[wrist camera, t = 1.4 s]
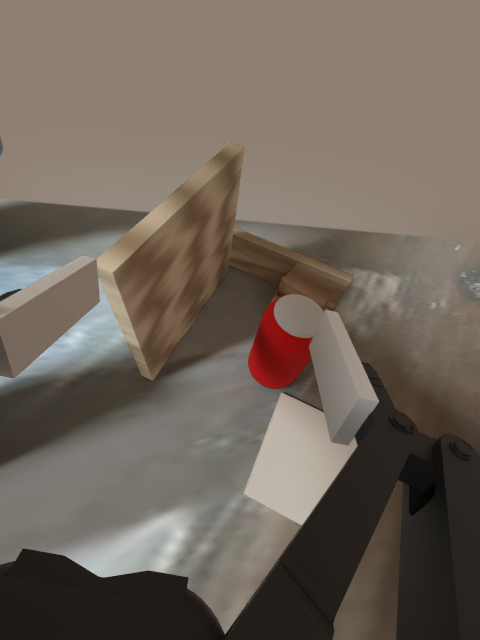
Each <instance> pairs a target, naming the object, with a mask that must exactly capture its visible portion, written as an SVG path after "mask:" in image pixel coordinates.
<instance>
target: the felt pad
mask: <svg viewBox="0 0 480 640" xmlns="http://www.w3.org/2000/svg"><path fill="white" fill-rule="evenodd" d="M356 447H357V443H356V439H355V437H354V439H353V440H352V441H351V443H350V444H349V446H347V445H342V444H337V443H332V442H331V440H330V436H329V432H328V427H327V423H326V419H325V414H324V412H322V411H319V410H317V409H315V408H313V407H311V406H309V405H307V404H305V403H303V402H301V401H299V400H296V399H294V398H292V397H290V396H288V395H286V394H284V393H282V392H281V394H280V396H279V399H278V402H277V404H276V407H275V410H274V412H273V415H272V418H271V420H270V423H269V426H268V428H267V431H266V434H265V436H264V439H263V442H262V445H261V447H260V450H259V453H258V455H257V458H256V461H255V463H254V466H253V469H252V471H251V474H250V477H249V479H248V482H247V485H246V487H245V490H244V493H243V494H244V495H246V496H248V497H250V498H252V499H253V500H255V501H257V502H259V503H261V504H263V505H265V506H266V507H268V508H270V509H272V510H274V511H276V512H277V513H279V514H281V515H283V516H285V517H287V518H289V519H290V520H292V521H294V522H296V523H298V524H300V525H301V526H302V525H303V523H304V522H305V520H306V519H307V517H308V516H309V515H310V513H311V512H312V510H313V509H314V507H315V506H316V505H317V503H318V502H319V500H320V499H321V497H322V496H323V495H324V493H325V492H326V490H327V489H328V487H329V486H330V485H331V483H332V482H333V480H334V479H335V477H336V476H337V475H338V473H339V472H340V470H341V469H342V467H343V466H344V464H345V463H346V462H347V460H348V458H349V457H350V456H351V454H352V453H353V452H354V450H355V449H356Z"/></svg>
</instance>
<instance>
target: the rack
mask: <svg viewBox="0 0 480 640" xmlns="http://www.w3.org/2000/svg"><path fill="white" fill-rule="evenodd" d="M243 155H244V146H241V145H238V144H236V143H233V142H230V143H229V144H228V145H227V146H226V147H225V148H224V149H222V150H221V151H220V152H219V153H218V154H217V155H216V156H214V157H213V158H212V159H211V160H210V161H209V162H207V163H206V164H205V165H204V166H203V167H202V168H201V169H199V170H198V171H197V172H196V173H195V174H194V175H193V176H191V177H190V178H189V179H188V180H187V181H186V182H185V183H183V184H182V185H181V186H180V187H179V188H178V189H176V190H175V191H174V192H173V193H172V194H171V195H170V196H168V197H167V198H166V199H165V200H164V201H163V202H162V203H160V204H159V205H158V206H157V207H156V208H155V209H154V210H152V211H151V212H150V213H149V214H148V215H147V216H146V217H144V218H143V219H142V220H141V221H140V222H139V223H137V224H136V225H135V226H134V227H133V228H132V229H131V230H129V231H128V232H127V233H126V234H125V235H124V236H123V237H121V238H120V239H119V240H118V241H117V242H116V243H115V244H113V245H112V246H111V247H110V248H109V249H108V250H107V251H105V252H104V253H103V254H102V255H101V256H100V257H98V258H97V272H98V279H99V281H100V283H101V285H102V288H103V290H104V292H105V294H106V297H107V299H108V301H109V303H110V306H111V308H112V310H113V312H114V315H115V317H116V319H117V321H118V324H119V326H120V328H121V330H122V333H123V335H124V337H125V339H126V342H127V344H128V346H129V348H130V351H131V353H132V355H133V358H134V360H135V362H136V364H137V367H138V369H139V371H140V373H141V376H143V377H145V378H147V379H149V380H151V381H153V380H154V379H155V378H156V376H157V375H158V373H159V372H160V370H161V369H162V367H163V366H164V364H165V363H166V361H167V360H168V359H169V357H170V356H171V354H172V353H173V351H174V350H175V348H176V347H177V345H178V344H179V342H180V341H181V340H182V338H183V337H184V335H185V334H186V332H187V331H188V329H189V328H190V326H191V325H192V323H193V322H194V321H195V319H196V318H197V316H198V315H199V313H200V312H201V310H202V309H203V307H204V306H205V304H206V303H207V302H208V300H209V299H210V297H211V296H212V294H213V293H214V291H215V290H216V288H217V287H218V285H219V284H220V283H221V281H222V280H223V278H224V277H225V275H226V274H227V272H228V269H229V265H230V266H232V267H234V268H237V269H239V270H241V271H244V272H246V273H248V274H251V275H253V276H256V277H258V278H260V279H263V280H265V281H267V282H270V283H272V284H274V285H277V286H279V284H280V282H281V280H282V278H283V276H286V275H287V274H288V273H289V272H290V270H291V269H292V268H293V267H294V266H295V265H296V264H297V263H298V264H299V265H301V266H303V267H304V268H306V269H308V270H309V271H311V272H313V273H314V274H316V275H318V276H319V277H321V278H323V279H324V280H326V281H328V282H329V283H331V284H333V285H334V286H336V287H337V288H336V290H335V291H334V293H333V294H332V296H331V297H330V299H329V301H328V304H327V307H329V308H331V309H333V308H334V306H335V305H336V303H337V302H338V300H339V299H340V298H341V296H342V295H343V293H344V292H345V290H346V289H347V288H348V286H349V285H350V283H351V281H352V277H353V275H352V274H349V273H347V272H344V271H342V270H339V269H337V268H334V267H332V266H329V265H327V264H324V263H322V262H319V261H317V260H314V259H312V258H309V257H307V256H304V255H302V254H299V253H297V252H294V251H292V250H289V249H287V248H284V247H282V246H279V245H277V244H274V243H272V242H269V241H267V240H265V239H262V238H260V237H257V236H255V235H252V234H250V233H247V232H245V231H242V230H240V229H237V228H235V227H234V223H235V215H236V208H237V200H238V192H239V185H240V177H241V170H242V162H243Z"/></svg>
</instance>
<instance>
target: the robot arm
mask: <svg viewBox="0 0 480 640" xmlns="http://www.w3.org/2000/svg"><path fill="white" fill-rule="evenodd" d="M2 152H3V144H2V141H1V138H0V155H1V154H2ZM99 302H100V298H99V285H98V272H97V259H96V258H92V257H87V256H81V257H79V258H77V259H76V260H74V261H72V262H70V263H68V264H67V265H65V266H63V267H61V268H59V269H58V270H56V271H54V272H52V273H51V274H49V275H47V276H45V277H43V278H42V279H40V280H38V281H36V282H35V283H33V284H31V285H29V286H27V287H26V288H24V289H18V290H15V291H11V292H8V293H5V294H3V295H1V296H0V376H5V377H10V378H15V377H16V376H18V375H19V374H20V373H21V372H22V371H23V370H24V369H25V368H26V367H28V366H29V365H30V364H31V363H32V362H33V361H34V360H35V359H36V358H38V357H39V356H40V355H41V354H42V353H43V352H44V351H45V350H46V349H48V348H49V347H50V346H51V345H52V344H53V343H54V342H55V341H56V340H58V339H59V338H60V337H61V336H62V335H63V334H64V333H65V332H67V331H68V330H69V329H70V328H71V327H72V326H73V325H74V324H75V323H77V322H78V321H79V320H80V319H81V318H82V317H83V316H84V315H85V314H87V313H88V312H89V311H90V310H91V309H92V308H93V307H94V306H95V305H97V304H98V303H99ZM309 349H310V353H311V358H312V362H313V366H314V371H315V375H316V380H317V384H318V388H319V393H320V397H321V401H322V406H323V410H324V414H325V419H326V423H327V427H328V432H329V436H330V440H331V442H332V443H337V444H342V445H347V446H349V444H350V443H351V441H352V440H353V439H354V437H355V439H356V443H357V447H356V449H355V450H354V452H353V453H352V454H351V456H350V457H349V458H348V460H347V462H346V463H345V464H344V466H343V467H342V469H341V470H340V472H339V473H338V475H337V476H336V477H335V479H334V480H333V482H332V483H331V485H330V486H329V487H328V489H327V490H326V492H325V493H324V495H323V496H322V497H321V499H320V500H319V502H318V503H317V505H316V506H315V507H314V509H313V510H312V512H311V513H310V515H309V516H308V517H307V519H306V520H305V522H304V523H303V525H302V526H301V527H300V529H299V530H298V532H297V533H296V535H295V536H294V537H293V539H292V540H291V542H290V543H289V545H288V546H287V547H286V549H285V550H284V552H283V553H282V555H281V556H280V557H279V559H278V560H277V562H276V563H275V565H274V566H273V568H272V569H271V570H270V572H269V573H268V575H267V576H266V578H265V579H264V580H263V582H262V583H261V585H260V586H259V588H258V589H257V590H256V592H255V593H254V595H253V596H252V597H251V599H250V600H249V602H248V603H247V604H246V606H245V607H244V609H243V610H242V611H241V613H240V614H239V616H238V617H237V619H236V620H235V621H234V623H233V624H232V626H231V627H230V629H229V630H228V631H227V633H226V634H224V631H223V629H222V627H221V625H220V623H219V621H218V619H217V618H216V616H215V615H214V613H213V612H212V610H211V609H210V608H209V607H208V605H207V604H206V603H205V602H204V601H203V600H202V599H201V598H200V597H199V596H197V595H196V594H195V593H194V592H192V591H190V590H189V589H187V583H188V577H182V576H177V575H171V574H165V573H160V572H154V571H143V572H137V573H131V574H124V575H118V576H112V577H105V578H102V577H99V576H97V575H95V574H93V573H92V572H90V571H88V570H87V569H85V568H84V567H82V566H80V565H79V564H77V563H75V562H74V561H72V560H70V559H69V558H67V557H66V556H63V555H57V554H52V553H46V552H40V551H35V550H29V549H22V551H21V553H20V554H19V556H18V557H17V559H16V561H13V562H9V563H5V564H2V565H0V640H332V638H333V634H334V627H333V622H334V619H335V616H336V614H337V611H338V609H339V607H340V605H341V603H342V600H343V598H344V596H345V594H346V592H347V589H348V587H349V585H350V583H351V581H352V578H353V576H354V574H355V572H356V570H357V568H358V565H359V563H360V561H361V559H362V557H363V554H364V552H365V550H366V548H367V546H368V543H369V541H370V539H371V537H372V535H373V533H374V530H375V528H376V526H377V524H378V522H379V519H380V517H381V515H382V513H383V511H384V508H385V506H386V504H387V502H388V500H389V498H390V495H391V493H392V491H393V489H394V487H395V484H396V482H397V480H399V481H401V482H403V501H402V523H401V545H400V567H399V589H398V611H397V633H396V640H480V456H479V454H478V453H477V452H476V451H475V450H474V448H473V447H472V446H471V445H469V444H468V443H467V442H466V441H464V440H462V439H461V438H459V437H457V436H454V435H451V434H444V435H442V436H441V437H440V438H439V439H438V440H436V439H434V438H431V437H429V436H427V435H425V434H423V433H420V432H419V431H418V429H417V427H416V425H415V424H414V423H413V421H412V420H411V419H410V418H409V417H407V416H406V415H405V414H403V413H401V412H399V411H397V410H396V409H395V407H394V405H393V403H392V401H391V399H390V397H389V395H388V393H387V391H386V389H385V388H384V385H383V383H382V381H380V378H379V376H378V374H377V372H376V371H375V370H374V369H373V367H372V366H371V365H370V364H369V363H364V362H361V361H360V359H359V357H358V355H357V353H356V350H355V348H354V346H353V344H352V342H351V340H350V337H349V335H348V333H347V331H346V329H345V327H344V324H343V322H342V320H341V318H340V316H339V314H338V312H334V311H330V310H325V311H324V313H323V316H322V318H321V320H320V322H319V325H318V327H317V329H316V332H315V334H314V336H313V339H312V341H311V343H310V346H309Z"/></svg>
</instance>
